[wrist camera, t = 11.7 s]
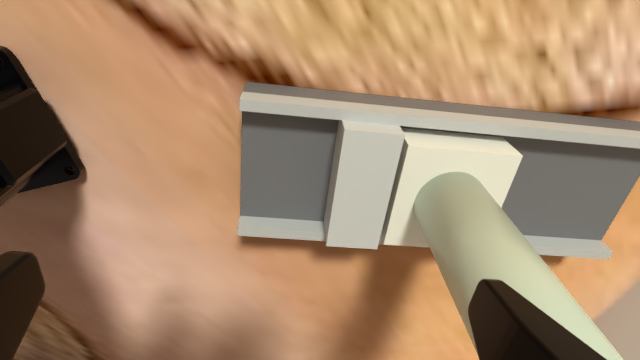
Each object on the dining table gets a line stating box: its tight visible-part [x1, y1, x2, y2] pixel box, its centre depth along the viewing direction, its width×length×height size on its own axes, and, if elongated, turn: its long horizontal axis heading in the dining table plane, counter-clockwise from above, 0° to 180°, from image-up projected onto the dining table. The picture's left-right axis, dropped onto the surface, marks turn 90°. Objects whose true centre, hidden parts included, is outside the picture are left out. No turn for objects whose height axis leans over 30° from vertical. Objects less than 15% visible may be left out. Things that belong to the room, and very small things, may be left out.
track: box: [238, 82, 640, 259], centre depth 19 cm, size 20×7×4 cm, turn 83°
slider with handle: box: [381, 127, 623, 360], centre depth 13 cm, size 5×5×14 cm
